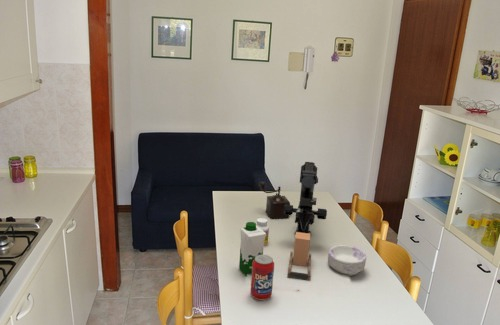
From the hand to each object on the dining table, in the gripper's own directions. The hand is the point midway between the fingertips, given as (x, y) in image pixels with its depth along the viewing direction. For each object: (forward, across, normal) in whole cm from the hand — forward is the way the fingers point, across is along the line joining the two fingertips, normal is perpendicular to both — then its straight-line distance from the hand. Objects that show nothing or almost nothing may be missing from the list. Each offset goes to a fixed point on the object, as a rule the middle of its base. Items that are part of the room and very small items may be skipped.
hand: (303, 230), depth 178 cm
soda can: (+33, -13, -15) cm, 39 cm away
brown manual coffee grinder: (-20, -17, +37) cm, 46 cm away
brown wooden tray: (+18, 0, -1) cm, 18 cm away
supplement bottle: (+6, -18, +11) cm, 23 cm away
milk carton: (+22, -19, -5) cm, 30 cm away
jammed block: (+14, 0, +2) cm, 14 cm away
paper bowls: (+14, +19, +4) cm, 24 cm away
